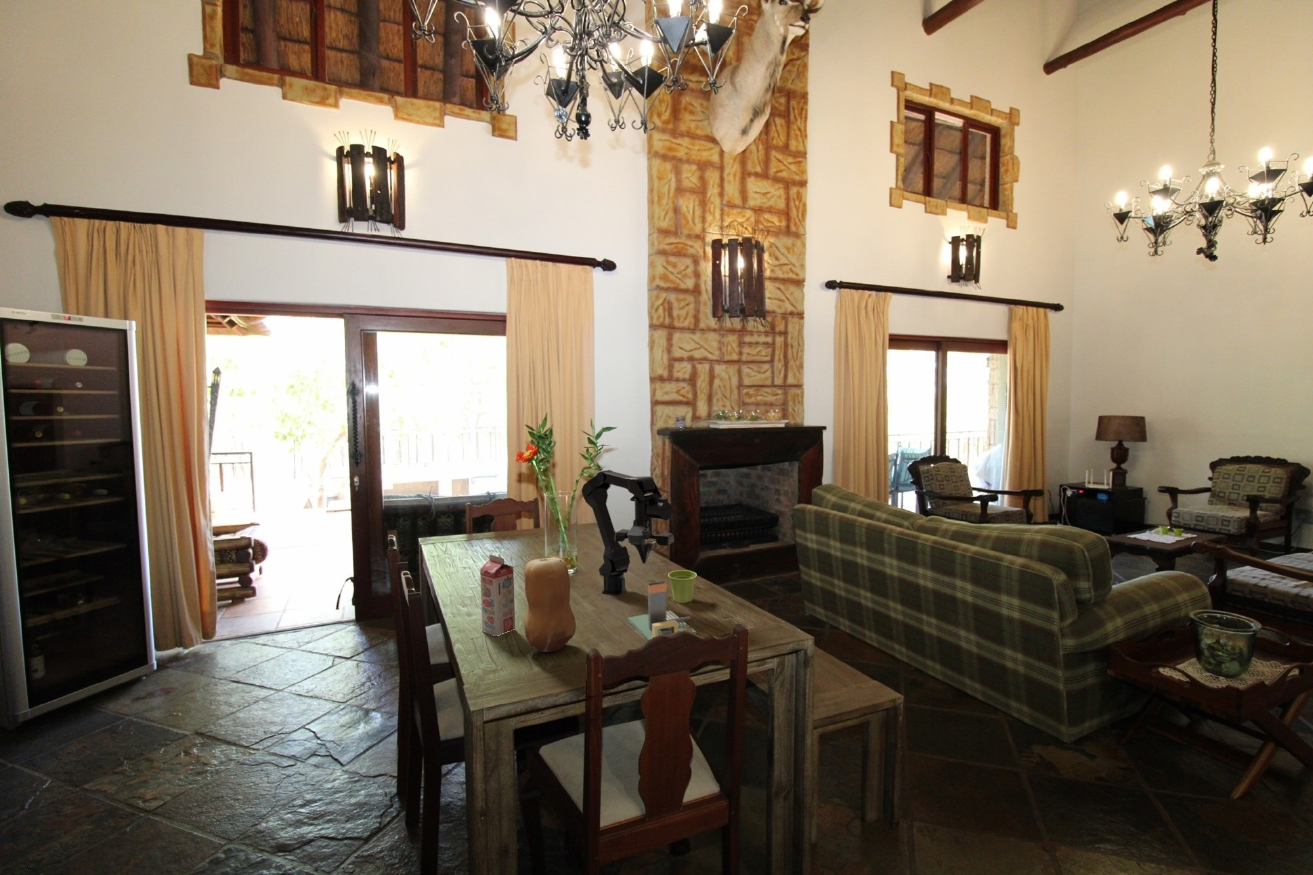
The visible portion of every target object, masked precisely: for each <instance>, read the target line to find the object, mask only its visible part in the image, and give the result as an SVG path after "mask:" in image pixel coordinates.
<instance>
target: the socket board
mask: <svg viewBox="0 0 1313 875" xmlns="http://www.w3.org/2000/svg"><path fill="white" fill-rule="evenodd" d="M676 618H680V617H679V616H678V615H677V614H676V613H674V612H673V611H671V610H666V620H670V619H676ZM627 621H628V623H629V624H631V625H632V626H633V627H634V628H635V629H636V630H637V631H638V632H639V634H641V633H642V634H641V636H643V635H644V636H643V637H644V638H645V637H646V638H647V639H646V638H645V639H646V640H647V641H648V640H650V639H652V638H653V637H656V636H658V635H659V634H658V629H663V628H668V627H669V628H671V629H672V633H676V632H678V631H683V630H687V629H683V628H685V627H691V626H690V625H689V624H688V623H686V622H685V621H680V622H677V621H675V620H671V621H665V622H659V623H654V624H652V630H650V629H649V623H648V614H647V613H646V614H641V615H635V616H630V617H627ZM691 629H692V632H694V633H696V634H697V631H696V630H695V629H694V628H692V627H691Z"/></svg>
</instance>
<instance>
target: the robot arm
mask: <svg viewBox="0 0 1313 875" xmlns="http://www.w3.org/2000/svg"><path fill="white" fill-rule="evenodd" d="M611 486H615V487H620V488H622V489H626V490H627V491H628V492H629V494H632V495H633V496H632V497H630V499H629V501H631V502H634V520H633V523H632V526H631V527H630V529H625V528H622V529H620V530H617V531H615V527H614V525H613V524H614V523H613V522H612V519H611V518H612V517H611V515H610V512H609V509H608V505H607V503H608V497H609V495H608V491H609V489H610V488H611ZM658 487H659V486H657V483H656V481H655V480H654V478H653V477H652V476H645V475H644V476H632V475H628V474H625V473H620V472H617V471H613V470H611V469H606V470H600V471H599V472H598V473H597V474H596V475H595V476H593V477H592V478H590V479H589V480H587V482H585V483H584V484H583V485H582V488H581V494H582V497H583V498H584V500H585V501H584V502H585V503H586V504H587V505H588V506H589V507H590V508H591V509H592V511H593V515H594V517H595V521H596V523H597V528H598V532H599V533H600V536H601V541H602V543H603V545H604V552H603V556H602V557H603V563H602V565H600V567H599V568H598V572H599V576H602V577H603V590H602V591H601V594H606V595H615V596H619V595H621V594H622V593H623V592H625V591H626V590H627V588H626V578H625V576H624V575H625V573H626V574H627V572H628V571H629V566H630V564H631V559H630V558H631V556H630V554H629V551H628V548H627V546H623V545H621V544H620V543H619V542H622V543H623V542H625V540H626V539H627V540H628V543H629V544H630V545H631V546H633V547H635V548H636V550H637V553H638V554H639V557H640V559H641V560H640V561H641V563H642V564H643V565H645V564H646V563H647V561H648V558H649V557H650V554H651V551H652V549H653V547H654V546H655V545H656V544H657V546H666V547H667V546H670V545H671V544H672V543H674V542H675V537H674V534H673V533H671V532H661V533H659V534H655V529H654V523H653V522H654V521H655V519H657V520H661V521H668V520H670V519H671V518H672V515H673V507H672V504H671V503H670V502H669V499H668V498H666V497H663V495H662V494H661V491H660V490H659V488H658Z"/></svg>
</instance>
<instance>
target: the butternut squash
mask: <svg viewBox="0 0 1313 875" xmlns="http://www.w3.org/2000/svg"><path fill="white" fill-rule="evenodd" d="M569 574H570V572H569V568H568V565H567V563H566V562H565V561H564V559H562V558H560V557H546V558H535V559H532V560H529V561H528V562H526V564H525V566H524V572H523V576H524V592H525V593H524V594H525V598H526V601H527V606H528V609H527V614H526V616H525V620H524V634H525V635H524V636H525V638H526V641H527V642H528V644H529V646H530V647H532V648H535V649H536V650H537V651H539V652H544V653H550V652H551V651H555V652H558V651H560V650H561V649H562V648H564V646H565V645H566V644H568V642H569V641H571V639H572V638H573V637H574V636H575V633H576V628H577V622H576V618H575V615H574V613H573V610H572V608H571V604H570V600H571V598H570V597H571V595H570V594H571V579H570V575H569Z"/></svg>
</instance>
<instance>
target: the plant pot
mask: <svg viewBox="0 0 1313 875" xmlns="http://www.w3.org/2000/svg"><path fill="white" fill-rule="evenodd" d="M667 576H668V578H669V582H670V586H671V592H672V599H673V601H674V602H676V603H679V604H687V603H688V602H689V603H690V602H692V601H693V594H694V587H695V581H696V578H697V576H698V575H697V573H696V572H695V571H692V570H687V569H685V570H683V569H680V570H673V571H670V572H669V573H668V574H667Z"/></svg>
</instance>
